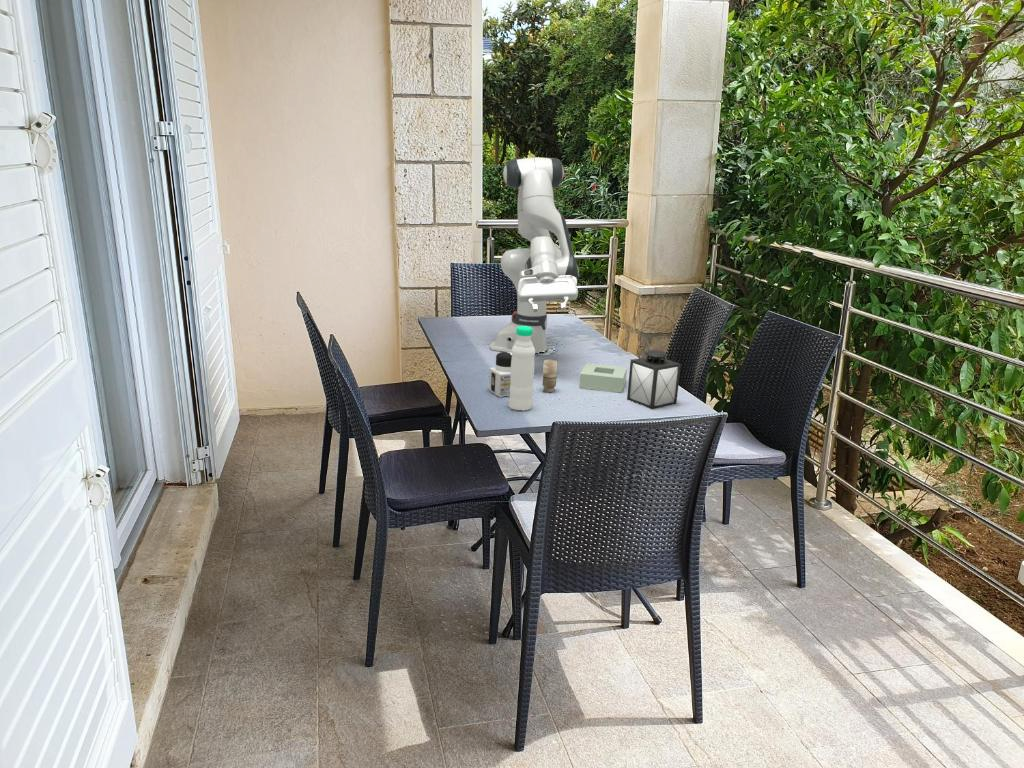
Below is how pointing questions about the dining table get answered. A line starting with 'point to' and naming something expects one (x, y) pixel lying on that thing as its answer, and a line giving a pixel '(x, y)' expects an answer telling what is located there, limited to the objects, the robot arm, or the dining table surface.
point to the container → (501, 375)
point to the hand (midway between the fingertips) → (549, 310)
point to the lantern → (653, 379)
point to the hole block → (603, 377)
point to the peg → (549, 375)
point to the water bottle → (522, 370)
